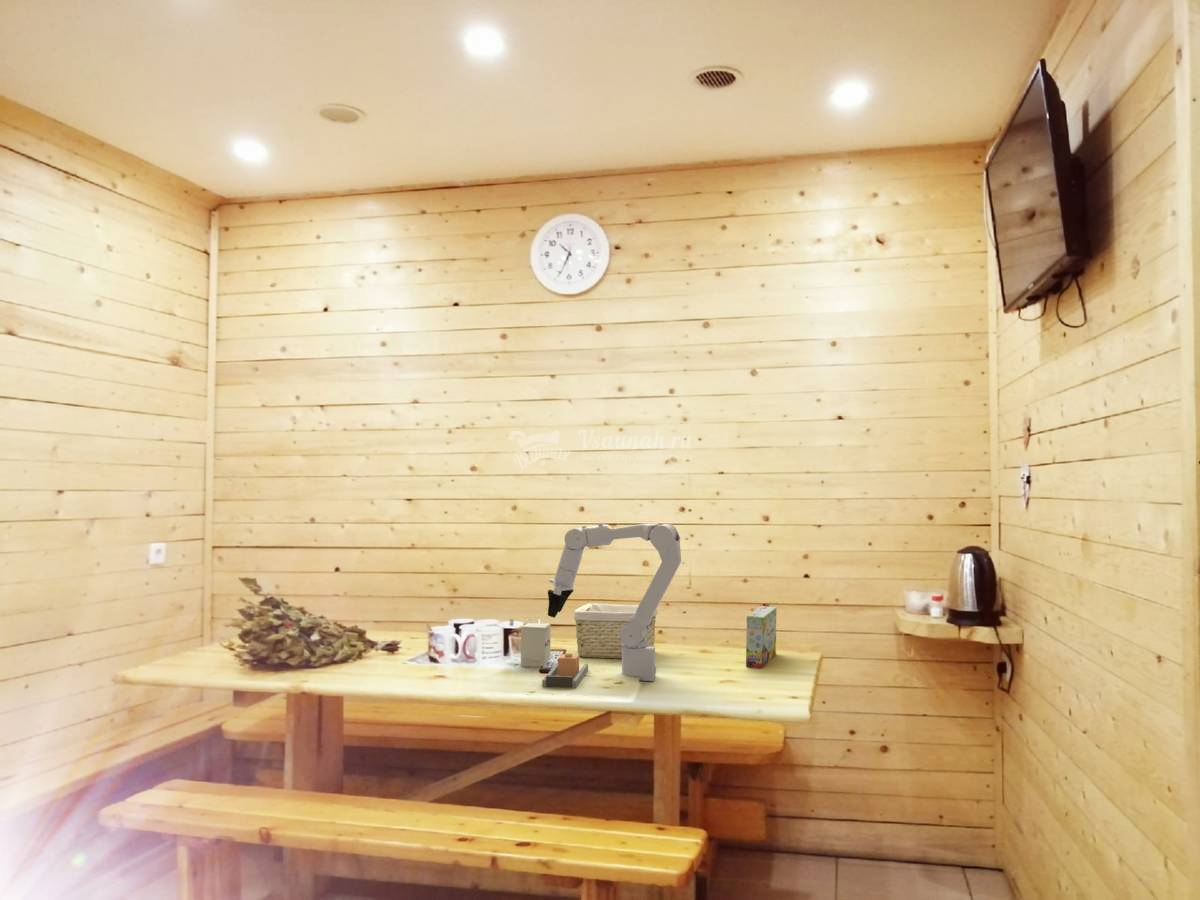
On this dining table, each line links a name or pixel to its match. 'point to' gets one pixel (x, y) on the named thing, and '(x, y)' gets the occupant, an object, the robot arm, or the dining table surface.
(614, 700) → the dining table surface
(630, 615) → the storage basket
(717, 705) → the dining table surface
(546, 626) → the supplement box
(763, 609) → the snack box
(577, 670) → the block
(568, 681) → the grey tray
